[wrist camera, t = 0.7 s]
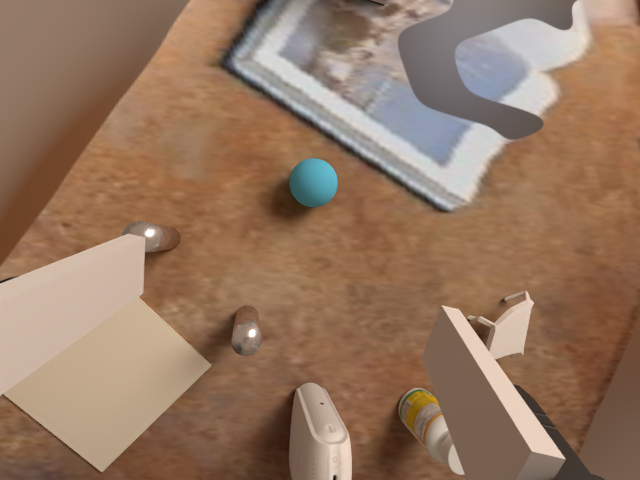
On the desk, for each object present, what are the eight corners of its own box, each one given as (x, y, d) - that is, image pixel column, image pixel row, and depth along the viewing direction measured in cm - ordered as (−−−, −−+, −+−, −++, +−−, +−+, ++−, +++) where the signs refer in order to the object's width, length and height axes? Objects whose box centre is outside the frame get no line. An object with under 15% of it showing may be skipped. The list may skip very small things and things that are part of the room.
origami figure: (490, 371, 44) (520, 387, 39) (446, 346, 42) (472, 359, 37) (525, 297, 45) (558, 304, 41) (483, 270, 44) (512, 273, 39)
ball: (307, 218, 38) (317, 215, 32) (277, 184, 37) (282, 175, 31) (339, 189, 39) (353, 181, 33) (309, 155, 38) (320, 141, 32)
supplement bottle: (391, 399, 40) (434, 447, 31) (424, 378, 41) (476, 419, 32) (406, 434, 41) (453, 492, 31) (438, 413, 42) (493, 462, 32)
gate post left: (166, 254, 34) (138, 259, 25) (149, 237, 34) (114, 236, 25) (185, 238, 34) (164, 238, 26) (168, 221, 34) (140, 214, 25)
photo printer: (292, 381, 37) (314, 448, 25) (326, 380, 38) (363, 445, 26) (284, 467, 37) (302, 576, 25) (319, 464, 38) (352, 567, 26)
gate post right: (246, 332, 36) (245, 361, 27) (230, 317, 36) (225, 341, 27) (262, 316, 36) (267, 340, 28) (247, 301, 36) (247, 320, 27)
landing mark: (102, 471, 32) (101, 472, 32) (-15, 377, 30) (-17, 378, 30) (211, 365, 35) (211, 365, 35) (110, 271, 33) (110, 271, 33)
